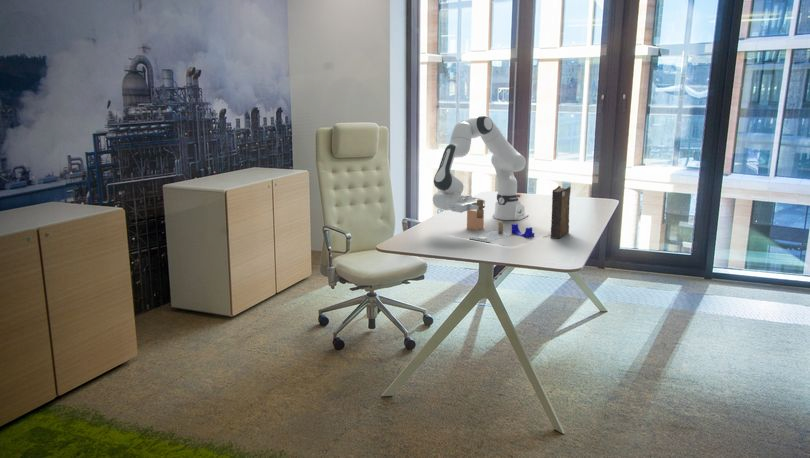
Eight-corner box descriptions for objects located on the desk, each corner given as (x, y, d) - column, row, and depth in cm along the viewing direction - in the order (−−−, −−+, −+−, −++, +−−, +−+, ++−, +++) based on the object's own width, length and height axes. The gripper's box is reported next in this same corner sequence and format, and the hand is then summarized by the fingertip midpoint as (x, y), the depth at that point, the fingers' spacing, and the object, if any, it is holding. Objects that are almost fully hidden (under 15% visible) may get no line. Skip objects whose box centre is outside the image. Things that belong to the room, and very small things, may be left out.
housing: (473, 228, 352) (474, 208, 349) (483, 229, 347) (483, 209, 345) (466, 230, 347) (467, 210, 344) (476, 231, 343) (476, 211, 340)
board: (494, 232, 341) (494, 219, 340) (513, 235, 333) (513, 222, 332) (469, 239, 325) (469, 226, 324) (488, 243, 318) (489, 229, 316)
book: (558, 239, 325) (561, 190, 320) (545, 237, 329) (547, 189, 324) (570, 233, 339) (572, 186, 333) (557, 231, 343) (559, 185, 337)
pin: (479, 216, 324) (479, 199, 322) (483, 217, 322) (484, 200, 320) (475, 217, 322) (475, 200, 320) (480, 218, 320) (480, 200, 318)
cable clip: (534, 238, 327) (534, 227, 326) (527, 240, 325) (528, 228, 324) (517, 234, 337) (518, 223, 336) (511, 235, 335) (511, 224, 333)
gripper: (446, 200, 321) (469, 203, 312) (471, 195, 336) (493, 198, 327) (446, 212, 323) (468, 216, 314) (471, 207, 338) (492, 210, 328)
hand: (481, 207), depth 320 cm, fingers closed on pin, 3 cm apart
